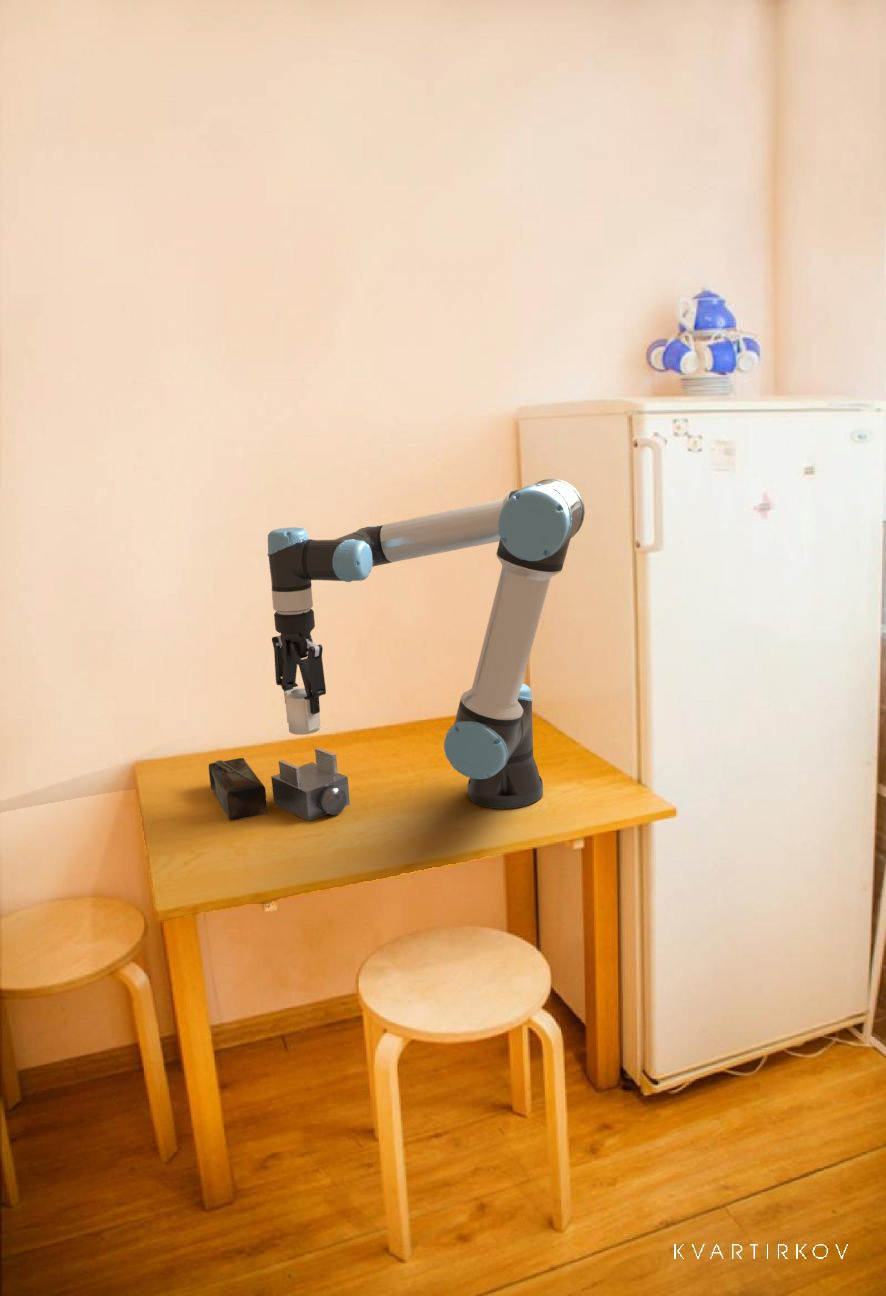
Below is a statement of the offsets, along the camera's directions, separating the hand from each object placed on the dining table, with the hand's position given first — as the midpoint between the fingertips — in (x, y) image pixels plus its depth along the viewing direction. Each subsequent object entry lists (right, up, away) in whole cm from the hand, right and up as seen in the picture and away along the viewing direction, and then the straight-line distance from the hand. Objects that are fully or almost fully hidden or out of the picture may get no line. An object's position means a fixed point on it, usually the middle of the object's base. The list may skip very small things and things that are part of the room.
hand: (303, 724), depth 194 cm
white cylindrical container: (0, -1, 0) cm, 1 cm away
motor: (+2, -17, +4) cm, 17 cm away
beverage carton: (-15, -17, +8) cm, 24 cm away
